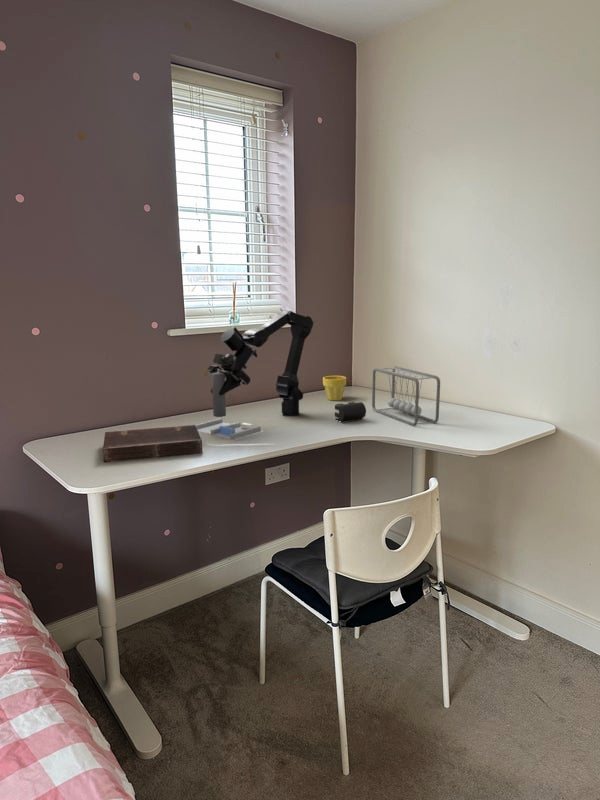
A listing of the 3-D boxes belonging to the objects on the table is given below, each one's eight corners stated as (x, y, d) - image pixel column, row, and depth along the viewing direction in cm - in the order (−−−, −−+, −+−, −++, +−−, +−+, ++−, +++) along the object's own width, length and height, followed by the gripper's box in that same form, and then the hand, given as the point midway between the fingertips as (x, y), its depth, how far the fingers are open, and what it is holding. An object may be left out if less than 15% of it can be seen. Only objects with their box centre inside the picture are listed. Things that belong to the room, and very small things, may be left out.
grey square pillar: (226, 413, 205) (224, 372, 202) (225, 416, 201) (224, 374, 198) (213, 414, 205) (212, 372, 202) (213, 417, 200) (211, 374, 197)
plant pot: (318, 399, 254) (318, 377, 252) (332, 395, 262) (332, 374, 260) (336, 402, 248) (337, 380, 245) (350, 398, 255) (350, 377, 253)
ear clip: (252, 428, 203) (252, 424, 203) (248, 429, 202) (248, 425, 201) (244, 426, 206) (244, 422, 205) (240, 427, 204) (240, 423, 204)
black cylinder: (344, 424, 211) (344, 406, 210) (333, 420, 217) (333, 402, 216) (366, 421, 216) (366, 403, 215) (355, 417, 222) (355, 400, 221)
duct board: (264, 432, 200) (264, 424, 200) (236, 441, 190) (236, 432, 189) (217, 422, 215) (216, 414, 214) (188, 430, 204) (188, 422, 204)
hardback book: (104, 464, 169) (102, 448, 168) (106, 446, 187) (105, 432, 186) (202, 455, 177) (201, 439, 176) (195, 439, 195) (195, 425, 194)
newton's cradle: (439, 424, 210) (441, 376, 207) (415, 427, 206) (417, 378, 202) (393, 407, 237) (394, 365, 233) (371, 410, 233) (372, 367, 229)
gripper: (210, 342, 207) (186, 376, 202) (242, 347, 194) (217, 383, 188) (228, 362, 214) (205, 395, 209) (261, 367, 201) (237, 403, 195)
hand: (215, 394), depth 200 cm, fingers closed on grey square pillar, 4 cm apart
